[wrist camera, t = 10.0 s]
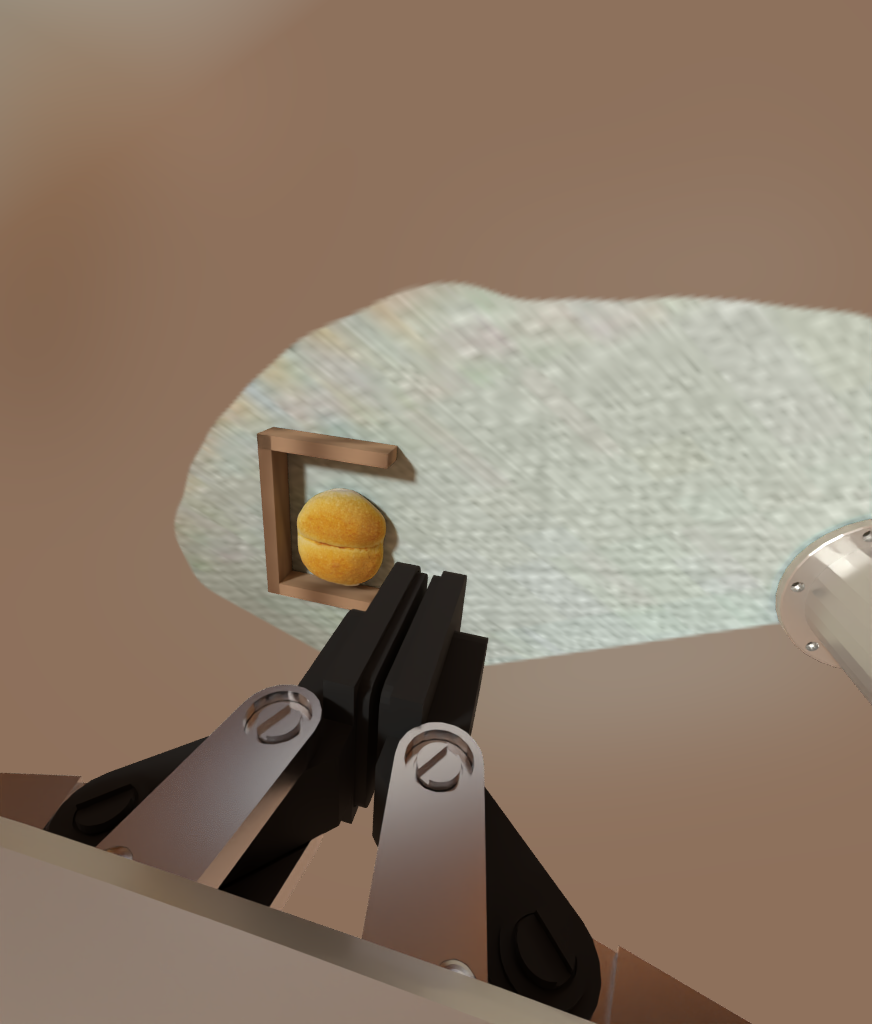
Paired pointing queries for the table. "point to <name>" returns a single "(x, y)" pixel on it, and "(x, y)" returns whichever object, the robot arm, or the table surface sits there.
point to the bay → (278, 510)
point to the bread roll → (341, 537)
